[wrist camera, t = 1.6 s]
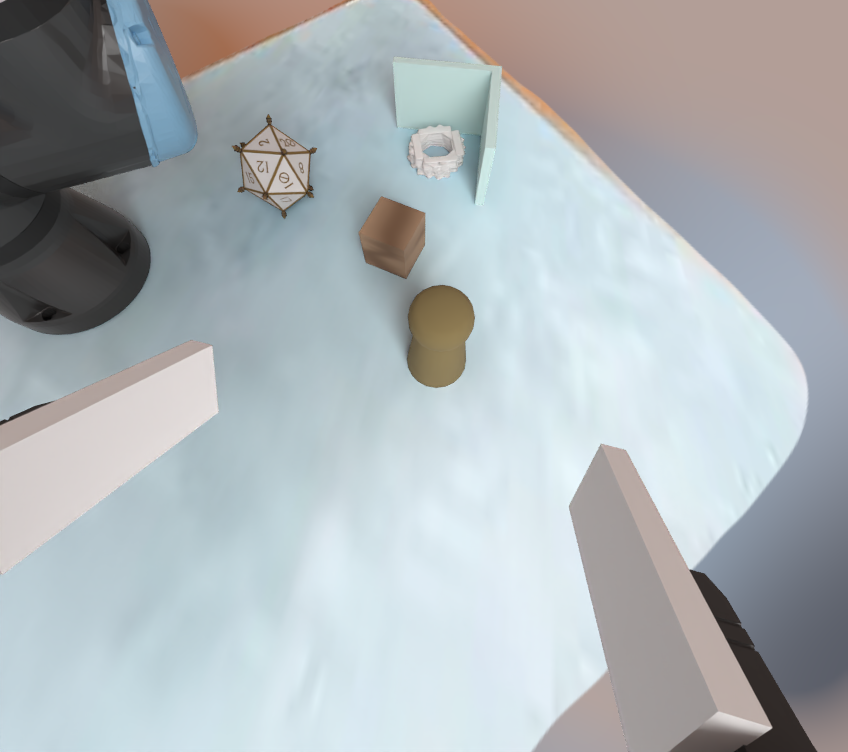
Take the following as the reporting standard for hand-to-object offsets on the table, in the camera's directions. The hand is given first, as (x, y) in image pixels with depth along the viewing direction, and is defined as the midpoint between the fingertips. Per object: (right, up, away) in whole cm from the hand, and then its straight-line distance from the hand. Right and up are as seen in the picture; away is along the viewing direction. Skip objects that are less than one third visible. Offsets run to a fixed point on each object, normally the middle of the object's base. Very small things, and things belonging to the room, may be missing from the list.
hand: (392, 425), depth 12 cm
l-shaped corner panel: (+3, +28, +33) cm, 44 cm away
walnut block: (-2, +16, +29) cm, 33 cm away
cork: (+2, +3, +25) cm, 25 cm away
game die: (-15, +23, +31) cm, 42 cm away
